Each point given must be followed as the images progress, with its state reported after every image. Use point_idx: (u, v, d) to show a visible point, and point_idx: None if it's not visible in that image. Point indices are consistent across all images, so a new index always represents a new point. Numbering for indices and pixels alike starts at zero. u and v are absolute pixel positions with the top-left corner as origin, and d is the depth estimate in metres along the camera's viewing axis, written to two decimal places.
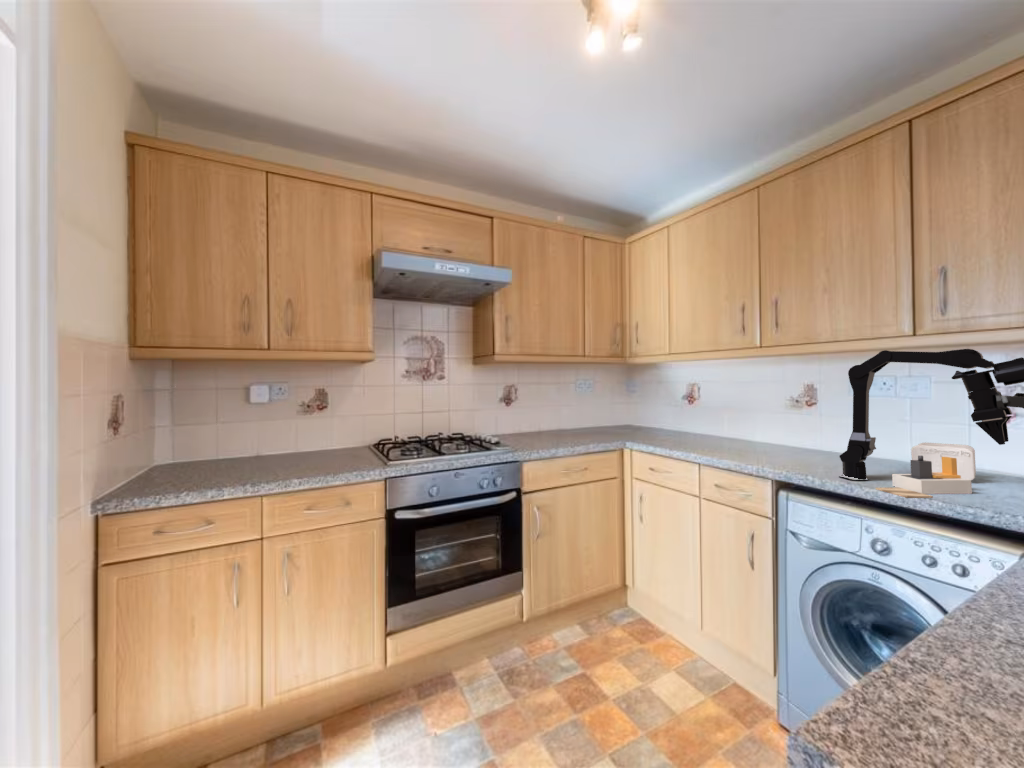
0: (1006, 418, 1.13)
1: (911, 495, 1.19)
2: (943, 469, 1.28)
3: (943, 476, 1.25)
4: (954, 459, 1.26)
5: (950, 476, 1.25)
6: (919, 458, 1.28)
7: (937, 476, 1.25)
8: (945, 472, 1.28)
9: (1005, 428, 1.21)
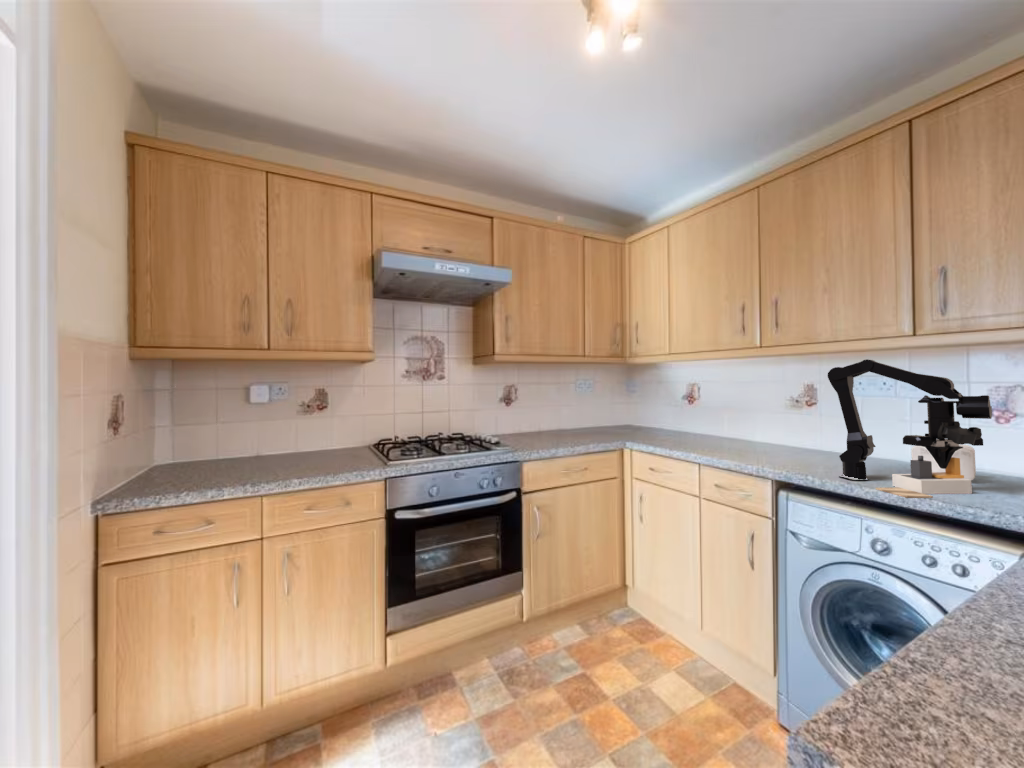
0: (940, 447, 1.25)
1: (911, 495, 1.19)
2: (946, 469, 1.28)
3: (946, 476, 1.25)
4: (957, 459, 1.26)
5: (953, 476, 1.25)
6: (919, 458, 1.28)
7: (940, 476, 1.25)
8: (948, 472, 1.28)
9: (946, 456, 1.26)
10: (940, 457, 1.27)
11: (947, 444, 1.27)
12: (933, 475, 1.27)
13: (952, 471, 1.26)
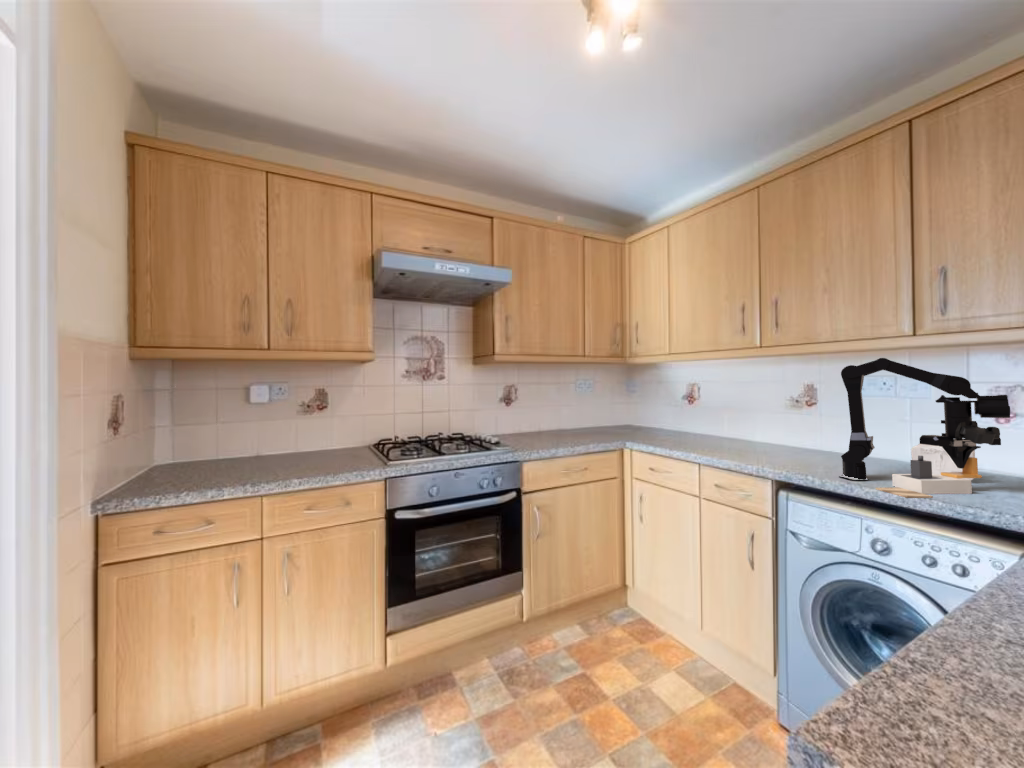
0: (958, 447, 1.24)
1: (911, 495, 1.19)
2: (963, 469, 1.28)
3: (964, 476, 1.25)
4: (975, 459, 1.25)
5: (971, 476, 1.24)
6: (919, 458, 1.28)
7: (958, 476, 1.25)
8: (965, 472, 1.27)
9: (964, 456, 1.26)
10: (957, 457, 1.26)
11: (964, 444, 1.27)
12: (950, 475, 1.27)
13: (969, 471, 1.26)
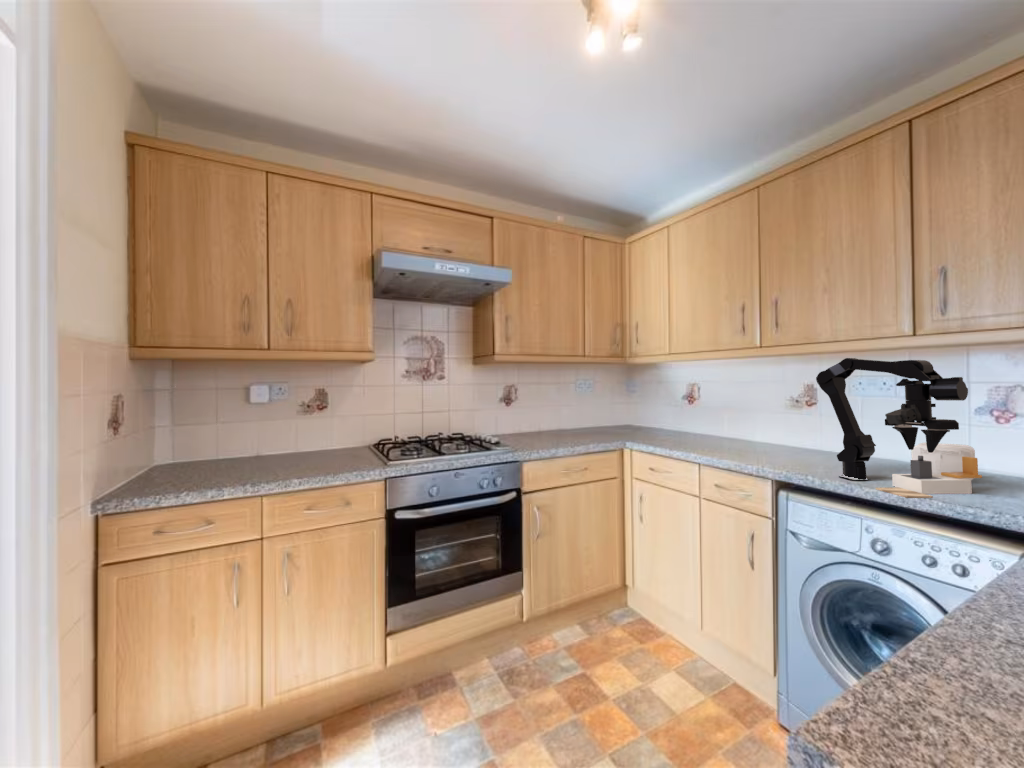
0: (892, 427, 1.34)
1: (911, 495, 1.19)
2: (963, 469, 1.28)
3: (964, 476, 1.25)
4: (975, 459, 1.25)
5: (971, 476, 1.24)
6: (919, 458, 1.28)
7: (958, 476, 1.25)
8: (966, 472, 1.27)
9: None
10: None
11: None
12: (950, 475, 1.27)
13: (969, 471, 1.26)
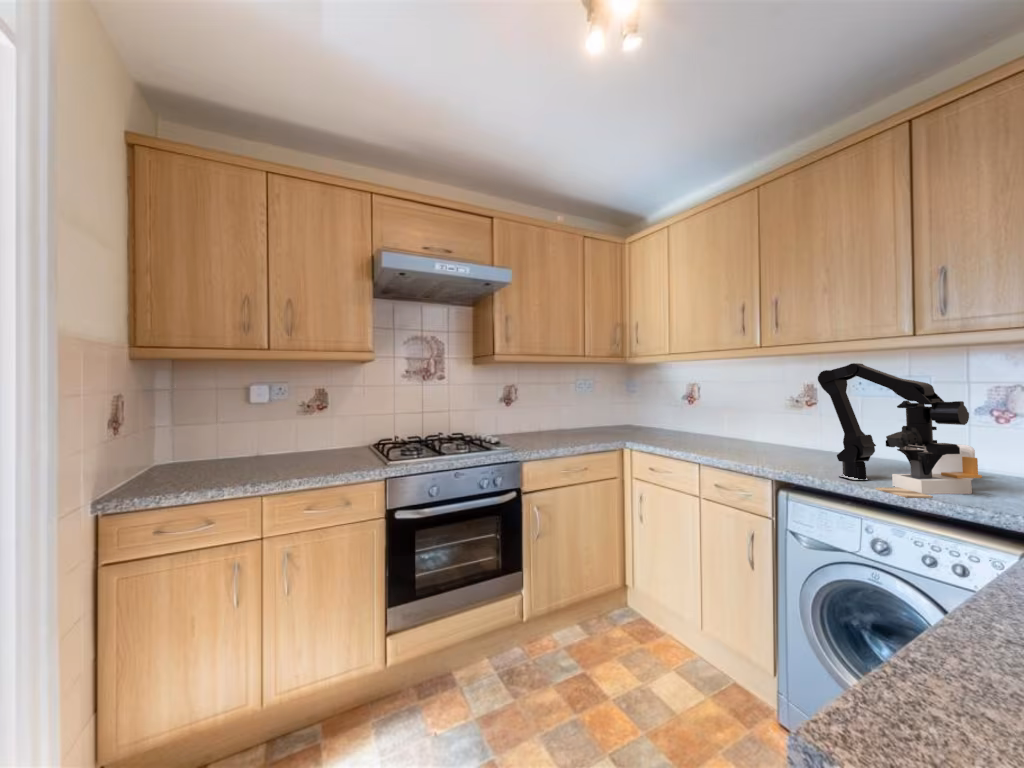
0: (897, 449, 1.33)
1: (911, 495, 1.19)
2: (963, 469, 1.28)
3: (964, 476, 1.25)
4: (975, 459, 1.25)
5: (971, 476, 1.24)
6: (919, 458, 1.28)
7: (958, 476, 1.25)
8: (966, 472, 1.27)
9: None
10: None
11: None
12: (950, 475, 1.27)
13: (969, 471, 1.26)
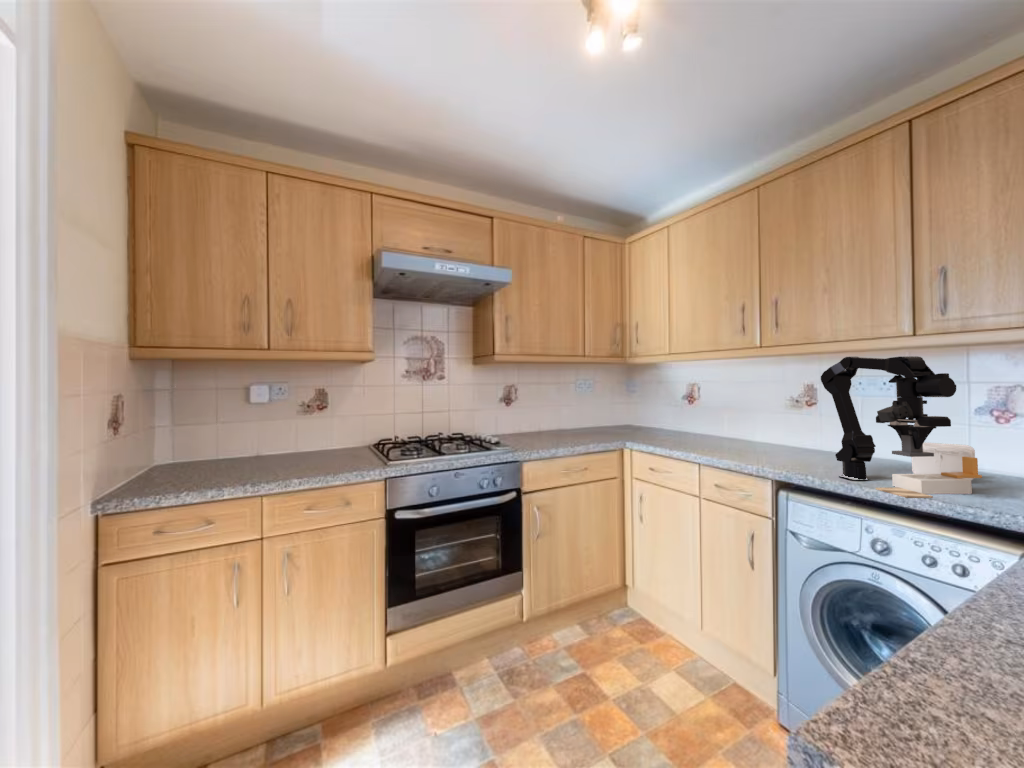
0: None
1: (911, 495, 1.19)
2: (963, 469, 1.28)
3: (964, 476, 1.25)
4: (975, 459, 1.25)
5: (971, 476, 1.24)
6: (910, 433, 1.26)
7: (958, 476, 1.25)
8: (966, 472, 1.27)
9: None
10: None
11: None
12: (950, 475, 1.27)
13: (969, 471, 1.26)
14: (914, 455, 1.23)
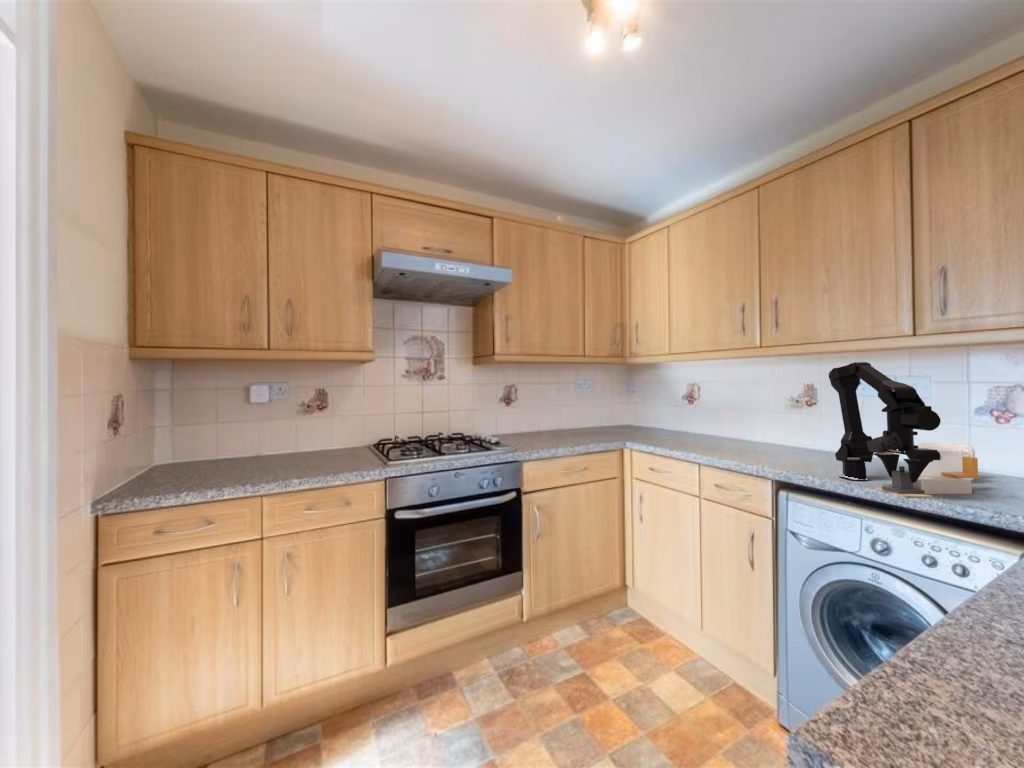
0: (873, 453, 1.31)
1: (911, 495, 1.19)
2: (963, 469, 1.28)
3: (964, 476, 1.25)
4: (975, 459, 1.25)
5: (971, 476, 1.24)
6: (900, 469, 1.24)
7: (958, 476, 1.25)
8: (966, 472, 1.27)
9: None
10: None
11: None
12: (950, 475, 1.27)
13: (969, 471, 1.26)
14: (903, 492, 1.21)
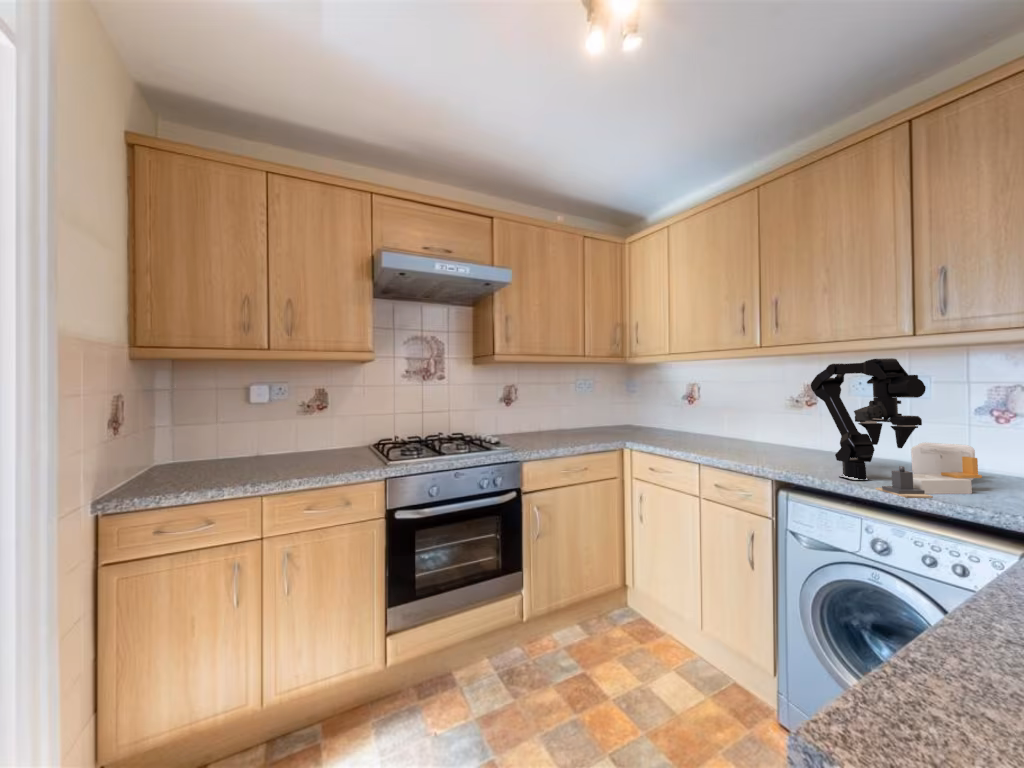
0: (858, 423, 1.40)
1: (911, 495, 1.19)
2: (963, 469, 1.28)
3: (964, 476, 1.25)
4: (975, 459, 1.25)
5: (971, 476, 1.24)
6: (900, 469, 1.24)
7: (958, 476, 1.25)
8: (966, 472, 1.27)
9: None
10: None
11: None
12: (950, 475, 1.27)
13: (969, 471, 1.26)
14: (903, 492, 1.21)
